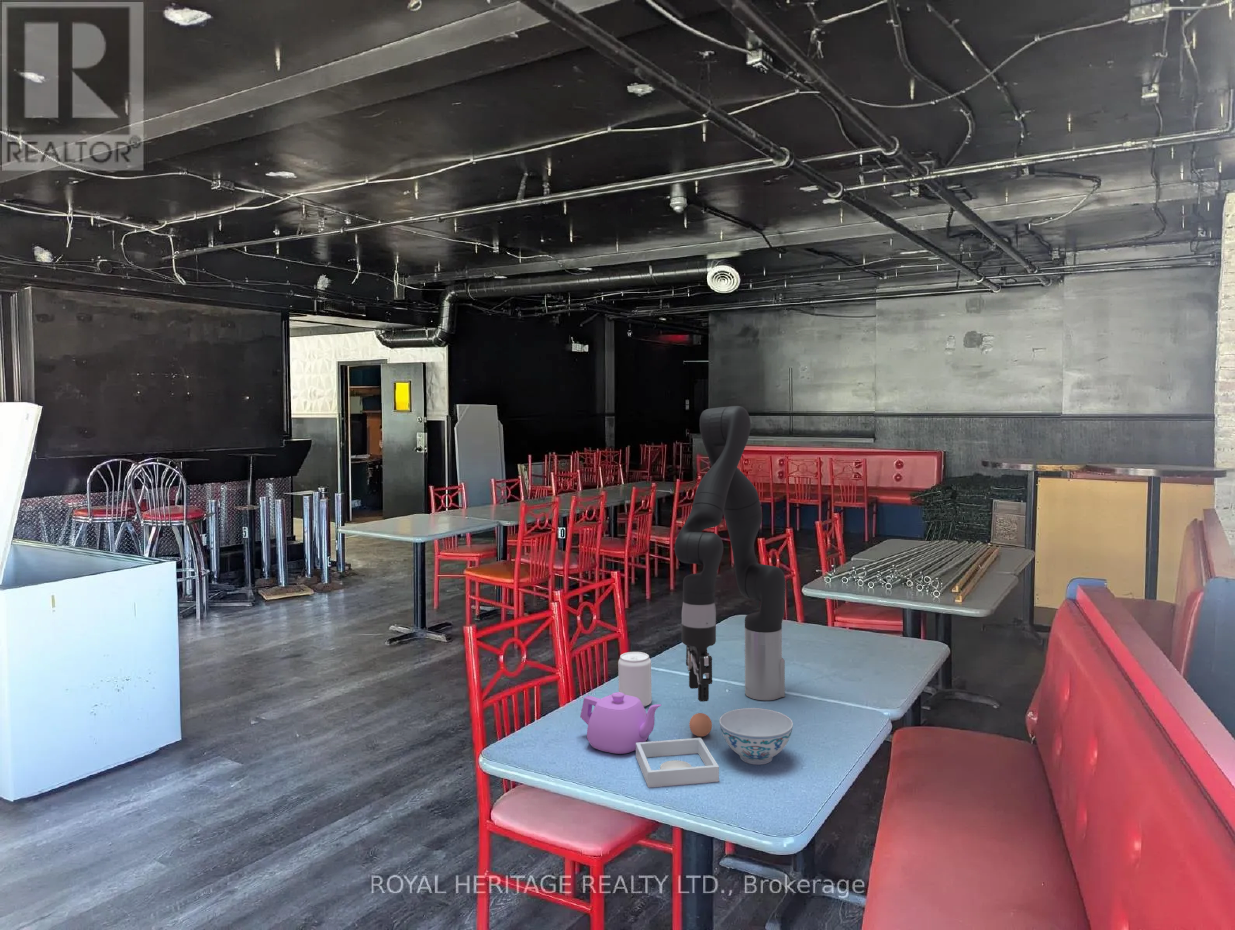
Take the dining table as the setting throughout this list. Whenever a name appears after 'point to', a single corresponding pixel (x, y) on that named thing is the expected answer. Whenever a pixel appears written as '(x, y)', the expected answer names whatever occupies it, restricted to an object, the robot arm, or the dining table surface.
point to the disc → (674, 764)
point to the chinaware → (756, 733)
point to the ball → (700, 724)
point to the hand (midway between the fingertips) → (698, 694)
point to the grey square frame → (677, 774)
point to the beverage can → (635, 676)
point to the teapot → (617, 722)
